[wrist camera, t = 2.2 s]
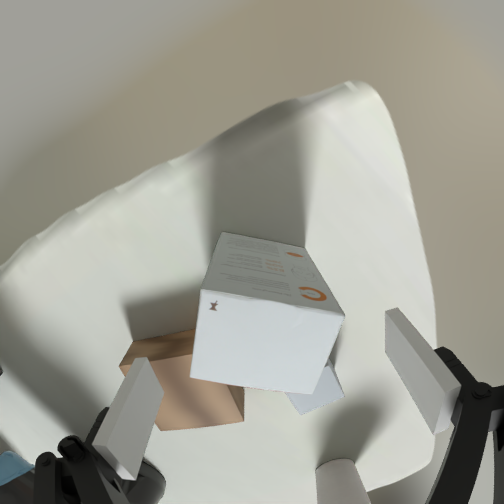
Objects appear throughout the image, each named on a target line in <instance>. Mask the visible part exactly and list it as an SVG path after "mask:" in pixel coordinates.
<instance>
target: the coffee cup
mask: <svg viewBox="0 0 504 504" xmlns="http://www.w3.org/2000/svg"><path fill="white" fill-rule="evenodd" d="M316 487H317V503H318V504H371V502H370V500H369V497H368V495H367V493H366V490H365V488H364V486H363V483H362V481H361V478H360V476H359V474H358V471H357V469H356V467H355V464H354V462H353V461H352V460H350V459H335V460H331V461H329V462H326V463H324V464H322V465H321V466H319V467H318V468H317V470H316Z"/></svg>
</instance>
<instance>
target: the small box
mask: <svg viewBox="0 0 504 504" xmlns="http://www.w3.org/2000/svg"><path fill="white" fill-rule="evenodd" d="M344 318H345V314H344V312H343V311H342V309H341V307H340V306H339V304H338V302H337V301H336V299H335V297H334V296H333V294H332V292H331V290H330V289H329V287H328V285H327V284H326V282H325V280H324V279H323V277H322V275H321V274H320V272H319V270H318V269H317V267H316V265H315V264H314V262H313V261H312V259H311V257H310V256H309V254H308V252H307V251H306V249H305V248H302V247H297V246H293V245H288V244H283V243H278V242H273V241H268V240H263V239H258V238H253V237H248V236H243V235H238V234H232V233H227V232H222V233H221V235H220V237H219V240H218V242H217V244H216V247H215V250H214V253H213V256H212V258H211V261H210V264H209V267H208V270H207V272H206V275H205V278H204V281H203V284H202V286H201V289H200V297H199V305H198V313H197V321H196V329H195V337H194V345H193V353H192V361H191V369H190V378H194V379H200V380H205V381H210V382H216V383H222V384H228V385H234V386H241V387H247V388H254V389H262V390H271V391H279V392H288V393H298V394H309V395H311V394H313V392H314V389H315V387H316V385H317V383H318V380H319V378H320V376H321V373H322V371H323V369H324V367H325V364H326V362H327V360H328V357H329V355H330V353H331V350H332V348H333V346H334V343H335V341H336V338H337V336H338V333H339V331H340V328H341V326H342V323H343V321H344Z"/></svg>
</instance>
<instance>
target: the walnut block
mask: <svg viewBox="0 0 504 504" xmlns="http://www.w3.org/2000/svg"><path fill="white" fill-rule="evenodd" d="M194 337H195V329H192V330H188V331H183V332H178V333H174V334H169V335H164V336H159V337H154V338H149V339H144V340H139V341H133V342H132V344H131V346H130V348H129V349H128V351H127V353H126V354H125V356H124V358H123V360H122V361H121V363H120V365H119V367H120V369H121V371H122V373H123V374H124V376H125V377H126V375H127V373H128V371H129V369H130V367H131V365H132V363H133V361H134V360H135V358H142V357H147V358H148V360H149V363H150V365H151V367H152V369H153V371H154V373H155V375H156V377H157V379H158V381H159V383H160V385H161V387H162V389H163V391H164V395H163V398H162V401H161V404H160V407H159V410H158V413H157V416H156V419H155V424H156V425H157V427H158V428H159V429H160V431H168V430H180V429H191V428H200V427H209V426H217V425H224V424H231V423H237V422H243V421H244V391H243V388H242V387H241V386H234V385H228V384H222V383H216V382H210V381H205V380H200V379H194V378H190V369H191V361H192V353H193V345H194Z"/></svg>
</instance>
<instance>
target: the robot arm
mask: <svg viewBox="0 0 504 504" xmlns="http://www.w3.org/2000/svg"><path fill="white" fill-rule="evenodd" d="M385 352H386V354H387V356H388V357H389V359H390V361H391V362H392V364H393V366H394V367H395V369H396V371H397V372H398V374H399V376H400V377H401V379H402V381H403V382H404V384H405V386H406V388H407V389H408V391H409V393H410V395H411V396H412V398H413V400H414V401H415V403H416V405H417V407H418V409H419V410H420V412H421V414H422V416H423V418H424V419H425V421H426V423H427V425H428V427H429V428H430V430H431V432H432V434H433V435H435V434H437V433H439V432H441V431H444V430H446V429H448V427H449V424H450V421H452V423H453V424H454V426H455V427H454V430H453V432H452V435H451V438H450V442H449V445H448V448H447V451H446V454H445V457H444V460H443V462H442V465H441V468H440V470H439V473H438V475H437V478H436V480H435V483H434V485H433V487H432V489H431V492H430V494H429V496H428V498H427V501H426V503H425V504H468V502H469V499H470V496H471V493H472V491H473V487H474V484H475V481H476V478H477V475H478V471H479V468H480V464H481V460H482V456H483V452H484V448H485V443H486V439H487V435H488V432H490V431H493V441H494V500H493V504H504V385H503V386H498V387H491V386H490V385H489V384H487V383H484V382H477V381H476V380H475V378H474V377H473V376H472V375H471V373H470V372H469V371H468V370H467V369H466V367H465V366H464V365H463V364H461V361H460V360H459V359H457V357H456V356H455V355H454V354H453V352H452V351H451V350H449V349H447V348H445V347H440V348H437V349H435V350H433V349H432V348H431V346H430V345H429V344H428V343H427V341H426V340H425V339H424V338H423V337H422V335H421V334H420V333H419V332H418V331H417V329H416V328H415V327H414V326H413V325H412V324H411V322H410V321H409V320H408V319H407V318H406V317H405V315H404V314H403V313H402V312H401V311H400V310H399V308H394V309H391V310H387V311H385ZM163 395H164V391H163V389H162V387H161V385H160V383H159V381H158V379H157V377H156V375H155V373H154V371H153V369H152V367H151V365H150V363H149V360H148V358H147V357H142V358H135V360H134V361H133V363H132V365H131V367H130V369H129V371H128V373H127V375H126V377H125V379H124V381H123V382H122V384H121V386H120V388H119V390H118V392H117V394H116V396H115V398H114V400H113V402H112V404H111V406H110V407H105V408H104V409H103V410H102V411H101V412H100V413H99V415H98V417H97V419H96V422H95V423H94V425H93V428H91V430H90V432H89V434H88V436H87V438H86V440H85V442H84V444H83V442H82V441H81V440H80V439H79V437H77V436H74V435H70V436H67V437H65V438H64V439H62V440H61V441H60V442H59V444H58V451H59V453H60V454H61V455H62V456H63V457H62V458H57V457H56V456H55V455H54V454H53V453H51V452H44V453H42V454H41V455H39V456H38V458H37V459H36V463H35V466H34V465H33V464H30V463H28V462H27V461H26V460H24V459H23V458H22V457H20V456H19V455H18V454H16V453H15V452H13V451H5V452H3V453H2V454H1V455H0V504H157V503H158V502H159V500H160V499H161V498H162V497H163V495H164V491H165V487H166V482H165V480H164V478H163V477H162V475H161V474H160V473H159V472H157V471H156V470H155V469H154V468H152V467H151V466H149V465H148V464H146V463H144V462H142V459H143V456H144V453H145V450H146V447H147V443H148V440H149V437H150V434H151V431H152V428H153V425H154V422H155V419H156V416H157V413H158V410H159V407H160V404H161V401H162V398H163Z"/></svg>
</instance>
